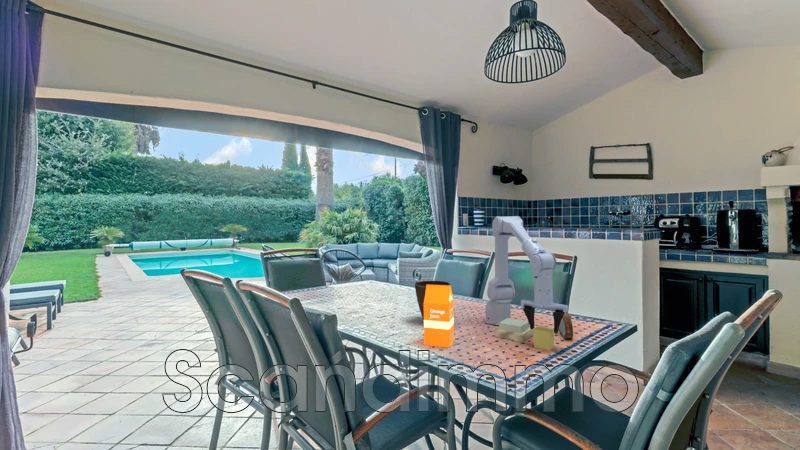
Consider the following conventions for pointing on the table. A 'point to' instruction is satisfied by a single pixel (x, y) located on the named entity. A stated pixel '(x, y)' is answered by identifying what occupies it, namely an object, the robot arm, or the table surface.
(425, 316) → the orange juice
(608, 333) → the table surface
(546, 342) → the mustard block
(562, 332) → the tin
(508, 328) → the sage top slab
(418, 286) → the plant pot
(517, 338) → the oak plinth
